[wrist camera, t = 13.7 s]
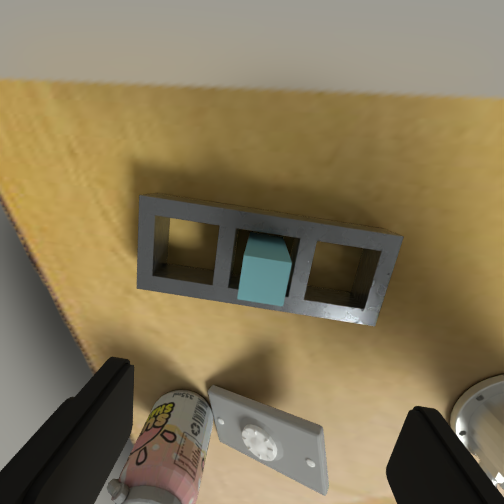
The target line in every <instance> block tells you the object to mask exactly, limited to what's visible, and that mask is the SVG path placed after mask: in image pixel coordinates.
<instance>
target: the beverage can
mask: <svg viewBox="0 0 504 504" xmlns="http://www.w3.org/2000/svg"><path fill="white" fill-rule="evenodd" d="M212 426H213V413H212V410H211V407H210V406H209V404H208V403H207V402H206V401H205V399H204V398H203V397H201V396H200V395H199V394H197V393H195V392H192V391H189V390H176V391H171V392H169V393H167V394H165V395H163V396H161V397H160V398H159V399H158V401H157V402H156V403H155V404H154V406H153V408H152V411H151V413H150V415H149V417H148V419H147V421H146V423H145V425H144V427H143V429H142V431H141V433H140V435H139V437H138V439H137V441H136V443H135V445H134V447H133V449H132V452H131V453H130V455H129V458H128V460H127V462H126V464H125V466H124V468H123V470H122V472H121V474H120V477H119V479H112V480H111V481H110V482H109V483H108V486H107V490H108V492H109V493H110V494H111V496H112V500H113V501H114V502H115V504H195V503H196V501H197V497H198V493H199V488H200V483H201V478H202V474H203V469H204V464H205V459H206V455H207V450H208V445H209V440H210V435H211V431H212Z"/></svg>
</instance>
